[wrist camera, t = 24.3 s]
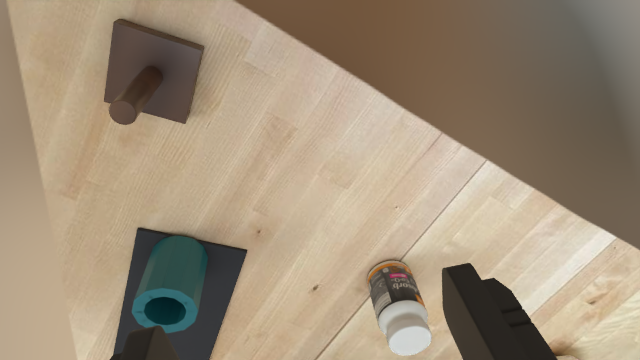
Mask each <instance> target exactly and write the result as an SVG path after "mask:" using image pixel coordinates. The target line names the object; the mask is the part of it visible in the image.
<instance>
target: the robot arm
mask: <svg viewBox="0 0 640 360" xmlns="http://www.w3.org/2000/svg"><path fill="white" fill-rule="evenodd" d="M442 295H443V310H444V315H445V318H446V322H447V324H448V327H449V329H450V331H451V334H452V336H453V338H454V340H455V342H456V345H457V347H458V349H459V351H460V353H461V355H462V358H463V360H558V359H557V358H556V356H555V355H554V353H553V352H552V350H551V349H550V347H549V346H548V344H547V343H546V341H545V340H544V338H543V337H542V336H541V334H540V333H539V331H538V330H537V328H536V327H535V325H534V324H533V323H531V319H530V318H529V316H528V315H527V313H526V312H525V310H523V309H522V306H521V305H520V303H519V302H518V300H517V299H516V297H515V296H514V294H513V293H512V291H511V290H510V289H508V288H507V287H506V286H504V285H503V284H502V283H500V282H499V281H497V280H496V279H495V278H491V279H486V280H481V278H480V277H479V275H478V274H477V272H476V270H475V269H474V267H473V266H472V265H471V264H470V263H466V264H461V265H456V266H451V267H446V268H443V269H442ZM110 360H180V359H179V356H178V355H177V353H176V351H175V349H174V347H173V345H172V344H171V342H170V340H169V338H168V336H167V335H166V333H165V331H164V329H163V328H162V327H161V326H160V325H158V326H153V327H148V328H143V329H138V330H133V331H131V332H130V333H129V335H128V337H127V340H126V342H125V345H124V348H123V351H122V353H119V354H114V355H113V356H112V357H111V359H110Z"/></svg>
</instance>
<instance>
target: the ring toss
mask: <svg viewBox="0 0 640 360" xmlns="http://www.w3.org/2000/svg"><path fill="white" fill-rule="evenodd" d="M203 50H204V46H201V45H198V44H195V43H192V42H189V41H186V40H183V39H180V38H177V37H174V36H171V35H168V34H165V33H162V32H159V31H155V30H152V29H149V28H146V27H143V26H140V25H137V24H134V23H131V22H128V21H125V20H122V19H118V20H117V21H115V22H114V25H113V33H112V41H111V49H110V57H109V65H108V73H107V81H106V89H105V97H104V102H108V103H111V105H110V107H109V114H110V116H111V118H112V119H113V120H114V121H115V122H117V123H119V124H123V125H127V124H131V123H133V122H134V121H135V120H136V118H137V117H138V115H139V114H140V113H141V112H144V113H147V114H151V115H155V116H158V117H162V118H165V119H169V120H173V121H176V122H180V123H184V124H186V121H187V119H188V116H189V112H190V107H191V103H192V98H193V94H194V89H195V85H196V81H197V76H198V72H199V67H200V63H201V59H202V54H203Z"/></svg>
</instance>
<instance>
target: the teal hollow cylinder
mask: <svg viewBox="0 0 640 360" xmlns="http://www.w3.org/2000/svg"><path fill="white" fill-rule="evenodd" d="M207 261H208V256H207V253H206V251H205V248H204V246H203V245H201V244H200V243H199V242H197V241H196V240H194V239H192V238H189V237H184V236H179V235H177V236H172V237H167V238H163V239H162V240H161V241H160V242H158V243H157V244H156V245H155V246H154V247H153V249H152V252H151V255H150V258H149V260H148V263H147V266H146V269H145V271H144V274H143V277H142V280H141V282H140V285H139V288H138V291H137V293H136V296H135V299H134V302H133V307H132V314H133V315H134V317H135V319H136V321H137V322H138V323H139V324H140V325H142V326H144V327H146V328H148V327H153V326H158V325H160V326H161V327H162V328H163V329H164V331H165V333H171V332H176V331H181V330H185V329H186V328H187V327H189V326H190V325H191V324H193V323H194V322H195V320H196V317H197V313H198V310H199V304H200V299H201V293H202V288H203V283H204V277H205V272H206V266H207Z"/></svg>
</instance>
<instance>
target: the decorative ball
mask: <svg viewBox="0 0 640 360" xmlns="http://www.w3.org/2000/svg"><path fill="white" fill-rule="evenodd" d="M556 358H557V359H558V360H579V359H577V358H575V357H573V356H571V355H568V356H556Z"/></svg>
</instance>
